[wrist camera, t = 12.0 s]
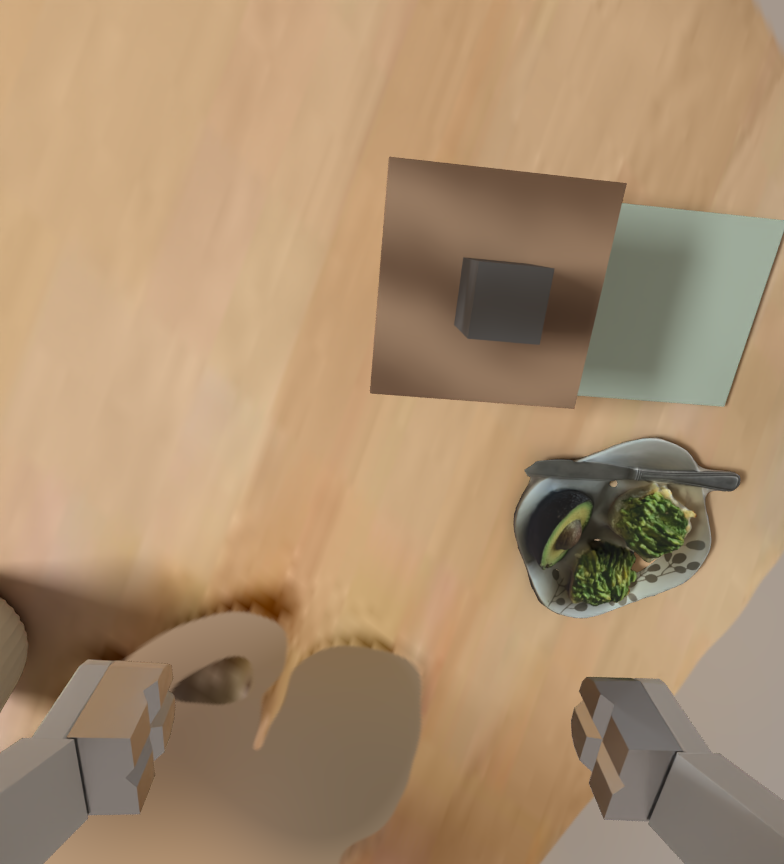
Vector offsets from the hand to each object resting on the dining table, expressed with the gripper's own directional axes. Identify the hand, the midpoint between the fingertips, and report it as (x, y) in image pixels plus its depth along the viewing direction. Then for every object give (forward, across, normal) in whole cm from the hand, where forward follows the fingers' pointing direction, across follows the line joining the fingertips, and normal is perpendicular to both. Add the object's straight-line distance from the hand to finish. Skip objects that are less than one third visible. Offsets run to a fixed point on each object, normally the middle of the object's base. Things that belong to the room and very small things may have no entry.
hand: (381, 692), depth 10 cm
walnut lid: (+21, -6, -6) cm, 23 cm away
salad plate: (+32, -22, +14) cm, 41 cm away
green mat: (+31, -22, -5) cm, 38 cm away
